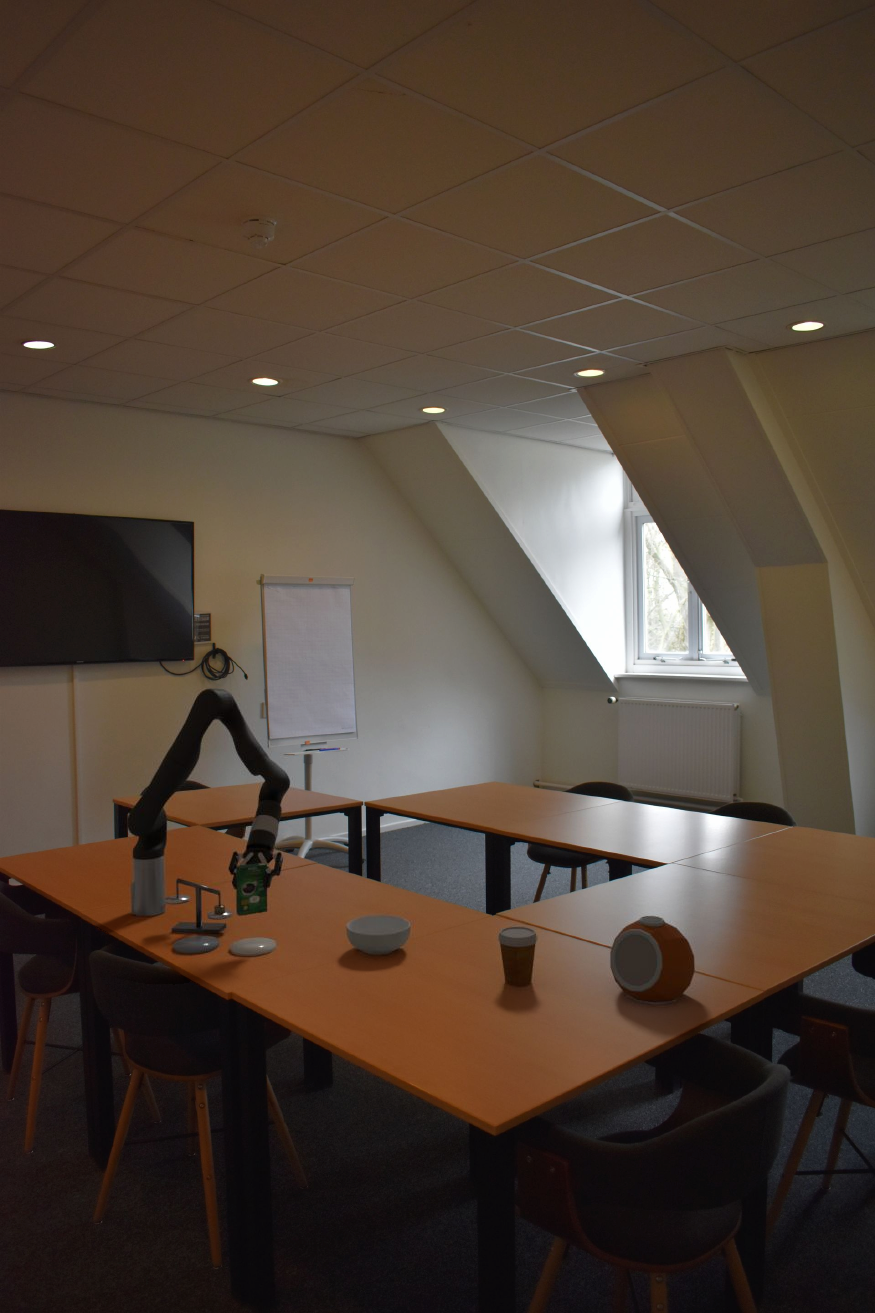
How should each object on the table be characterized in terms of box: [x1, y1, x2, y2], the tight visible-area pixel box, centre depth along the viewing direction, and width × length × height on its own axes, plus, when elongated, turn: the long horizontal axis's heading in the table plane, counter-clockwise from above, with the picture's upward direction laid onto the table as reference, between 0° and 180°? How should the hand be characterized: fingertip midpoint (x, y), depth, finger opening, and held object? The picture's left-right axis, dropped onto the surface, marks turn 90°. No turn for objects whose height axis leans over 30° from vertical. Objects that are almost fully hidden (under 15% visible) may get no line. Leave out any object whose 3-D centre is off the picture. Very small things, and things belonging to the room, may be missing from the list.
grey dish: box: [173, 935, 220, 955], centre depth 254 cm, size 12×12×1 cm
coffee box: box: [235, 863, 268, 917], centre depth 252 cm, size 8×3×13 cm, turn 119°
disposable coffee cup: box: [497, 925, 538, 987], centre depth 225 cm, size 10×10×12 cm
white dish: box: [229, 937, 277, 957], centre depth 252 cm, size 12×12×1 cm
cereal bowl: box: [346, 914, 411, 956], centre depth 249 cm, size 17×17×7 cm
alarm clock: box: [609, 915, 696, 1005], centre depth 216 cm, size 19×18×17 cm
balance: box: [165, 878, 233, 935], centre depth 269 cm, size 20×7×15 cm, turn 82°
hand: (250, 888), depth 250 cm, fingers closed on coffee box, 8 cm apart
